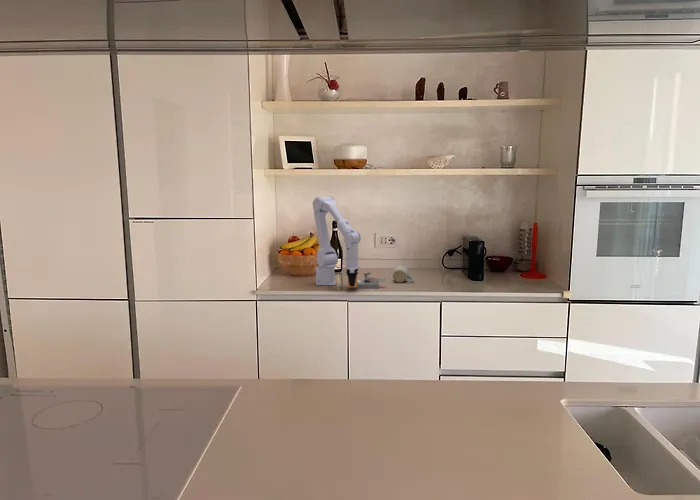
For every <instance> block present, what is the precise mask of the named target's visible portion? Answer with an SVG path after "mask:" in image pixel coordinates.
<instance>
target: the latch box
mask: <svg viewBox="0 0 700 500" xmlns="http://www.w3.org/2000/svg"><path fill="white" fill-rule="evenodd" d="M379 283H380V282H375V281H369V282H365V281H364V279H357V287H349V289H379V288H380V285H379Z"/></svg>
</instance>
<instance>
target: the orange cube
mask: <svg viewBox="0 0 700 500" xmlns="http://www.w3.org/2000/svg"><path fill="white" fill-rule="evenodd" d="M357 280H358V275H357V276H356V280H355V285H354V286H350V284H349V279H348V278H347V288H350V287H357Z"/></svg>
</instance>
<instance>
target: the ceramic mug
mask: <svg viewBox="0 0 700 500" xmlns="http://www.w3.org/2000/svg"><path fill="white" fill-rule="evenodd" d="M392 279H393V280H394V281H395V282H396V283H399V284H400V283H403V282H405V281H406V282H408V283H413V282H414V277H412V276H411V275H410V272H409V269H408V268H407V267H406V266H404V265H398V266H396V267H395V268H394V270H393V273H392Z"/></svg>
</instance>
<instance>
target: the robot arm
mask: <svg viewBox="0 0 700 500" xmlns="http://www.w3.org/2000/svg"><path fill="white" fill-rule="evenodd" d="M312 208H313V217H314V223H315V227H316V234H317V238H318V244H319V249H318V250H317V252H316V263H317V265H318V266H316V267H315V282H316V284H315V285H316V286H335V285H336V283H337V282H336V280H335V279H336V277H335V267H336V266H337V265H336V264H338V263H339V262H338V261H339V257H338V255H337V252H336V250H335V248H333V247H332V246H331V242H330V235H329V230H328V224H327V219H326V216H327V214H330V215H331V216H332V218H333V219H334V221H335V222H336V223H337V225H336V226H337V229H338V230H339V232H340V233H341V235H342V237H343V238H342V239H343V243H344V247H345V252H346V253H345V264H346V265H345V269H346V271H345V274H346V275H347V280H348V279H349V284H350V286H354V285H355V280H356V276H357V277H358V274H359V269H361V265H359V243H360V242H361V239H362V237H361V234H360V232H359V231H356V229H354V228H353V227H352V225H351V223H350V221H349V220H348V219H344V217H343V216H342V214H341V212H340V211H339V208H338V207H337V202H336V200H335V198H334V196H330V195H329V196H316V197H315V198H314V199H313V201H312Z"/></svg>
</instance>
